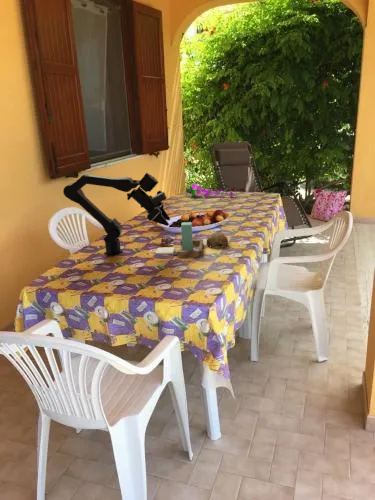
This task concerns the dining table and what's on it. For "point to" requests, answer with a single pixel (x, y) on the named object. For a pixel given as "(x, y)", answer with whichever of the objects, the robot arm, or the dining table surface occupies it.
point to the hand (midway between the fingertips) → (169, 222)
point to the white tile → (165, 250)
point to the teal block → (187, 236)
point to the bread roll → (217, 240)
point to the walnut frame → (192, 253)
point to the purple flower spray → (204, 191)
